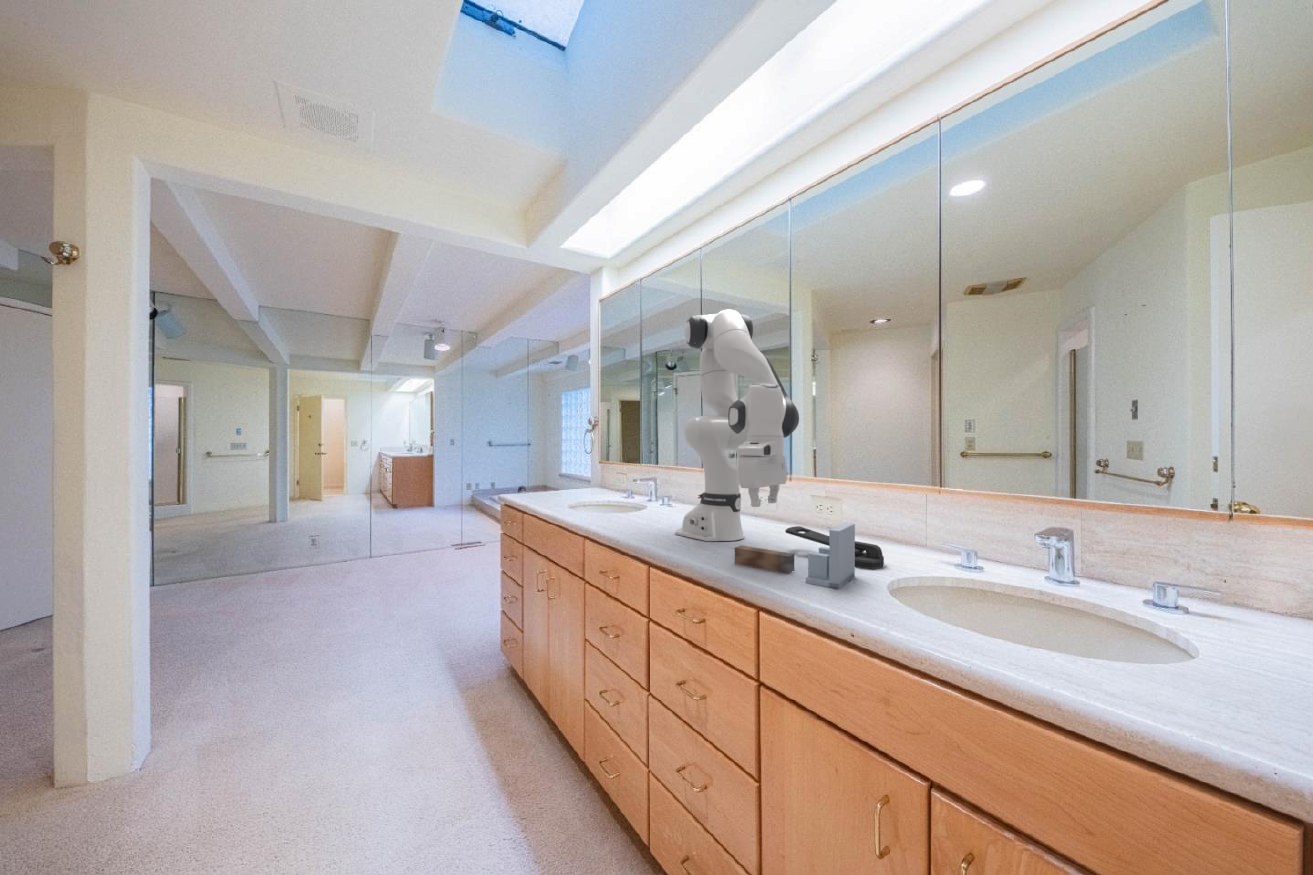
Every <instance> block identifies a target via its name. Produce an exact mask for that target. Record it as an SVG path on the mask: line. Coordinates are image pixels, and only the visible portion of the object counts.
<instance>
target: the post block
mask: <svg viewBox="0 0 1313 875" xmlns="http://www.w3.org/2000/svg"><path fill="white" fill-rule="evenodd" d="M828 534H829V535H828V536H829V546H827V547H826V546H820V547H818V552H814V551H810V552H808V555H807V556H808V557H807V577H805V583H806V584H811V585H817V586H821V587H826V588H830V589H831V588H832V589H837V590H839V589H841V588H842V587H844V586H845V585H846V584H847V583H849V582H850V581H851V580H852V579H853V578H854V577H855V575H856V574H855V573H856V571H855V570H856V569H855V568H856V567H855V541H856V523H852V522H845V523H842V524H840V525H837V526H836V527H833V528H831V529H829V533H828Z"/></svg>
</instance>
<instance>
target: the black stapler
mask: <svg viewBox="0 0 1313 875" xmlns="http://www.w3.org/2000/svg"><path fill="white" fill-rule="evenodd" d="M784 532H785V534H789V535H791V536H795V537H798V538H803V539H804V540H808V541H813V542H814V543H815V542H816V543H818V544H822V545H824V546H827V547H829V535H828V534H824V533H821V532H818V531H815V530H812V529H809V528H807V527H803V526H801V525H799V526H798V525H797V526H791V527H788V528H786V529H785V530H784ZM884 557H885V556H884V555H883V551H882V549H881V547H880V546H879V545H877V544H873V543H870V542H864V541H856V540H855V568H858V569H861V570H862V569H864V570H872V571H873V570H881V569H883V568H884V567H885V565H884V564H885V560H884V559H885V558H884Z"/></svg>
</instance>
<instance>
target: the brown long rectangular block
mask: <svg viewBox="0 0 1313 875" xmlns="http://www.w3.org/2000/svg"><path fill="white" fill-rule="evenodd" d="M734 564H735V565H740V566H745V567H749V568H750V567H751V568H756V569H761V570H765V569H767V571H771V570H772V572H776V571H778V572H777V573H781V572H782V573H783V574H786V573H787V575H789V574H790V573H793V572H795V553H792V552H785V551H779V550H772V549H767V548H761V547H760V548H759V547H754V546H747V545H742V544H741V545H738V546H736V547H734ZM792 571H793V572H792Z"/></svg>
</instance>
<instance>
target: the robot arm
mask: <svg viewBox="0 0 1313 875" xmlns="http://www.w3.org/2000/svg"><path fill="white" fill-rule="evenodd" d="M753 335H754V324H753V321H752V318H751V317H750V316H748V315H747V314H746V315H745V314H741V313H740V312H738V311H737V310H734V309H723V310H721V311H719V312H718V313H713V314H711V313H710V314H703V315H701V314H697V315H692V316H690V317H689V318H688V319H687V321H686V324H685V327H684V338H685V340H686V344H687V345H688V346H689V347H690V348H693V349H699V350H700V349H702V350H701V352H700V357H699V383H700V389H701V390H700V391H701V399H702V401H703V403H704V405H706V406H708V407H709V408H711V409H712V410H713V411H714V413H716V415H707V414H706V415H698V416H694V417H691V418H690V419H689V420H688V421H687V423H686V424H685V427H684V432H683V434H684V438H685V442H686V443H687V444H688V446H690V448H692V449H693V450H694V451H695V452H696V453H697V455H698V456H699V458H700V460H701V463H702V465H703V472H704V492H702V493H701V494H698V495H697V496H698V497H697V499H700V501H699V504H697V505H696V506H694V507H693V508H692V509H691V510H690V511H688V512H686V514H685V515H684V517H683V520H682V526H681V527H680V528H677V529H676V530H675V533H674V534H675V535H677V536H682V537H687V538H691V539H696V540H700V541H705V542H718V541H719V542H720V541H721V542H727V541H731V542H732V541H738V540H739V541H740V540H742V539H744V538H745V535H744V530H743V527H742V519H741V508H742V507H741V506H742V496H741V493H740V488H742V489H748V492H747V493H748V495H749V498H750V506H751V507H752V508H759V507H761V505H762V504H761V503H762V502H761V499H760V496H759V494H760V488H767V487H768V488H769V495H768V496H767V502H768V504H776V503H777V502H778V494H779V492H780V486H781V485H785V484H787V481H788V470H787V459H786V456H785V455H784V439H785V438H787V437H789V436H790V435H791V434H792V433H793V432H795V430H797V428H798V425H799V422H800V414H799V411H798V409H797V406H796V405H795V403H794V402H793V401H792V399H791V398H790V397H789V395H788V394H787V392H786V389H785V388H784V386H783V383H782V382H781V380H780V378H779V376H778V374H777V371H776V370H775V368H774V366H773V364H772V362H771V360H770V359H769V358H768V357H767V356H766V355H765V354H763V352H761V351H760V350H759V348H757V347H756V345H755V344H754V342H753V340H752V339H753ZM734 374H736V375H740V376H743V377H745V378H748V379H750V380H752V381H754V383H751V384H750V385H748V389H747V393H746V394H745V395H744V396H743V397H741V398H740V399H738V395H737V392H736V391H737V390H736V386H735V384H736V383H735V380H734ZM729 450H730V451H731V450H732V451H736V453H737V456H739V457H738V458H739V459H738V463H737V464H738V466H737V465H736V464H735V463H733V462H731V461H730V460H729V459H728V458H727V456H726V453H725V452H726V451H729Z"/></svg>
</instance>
